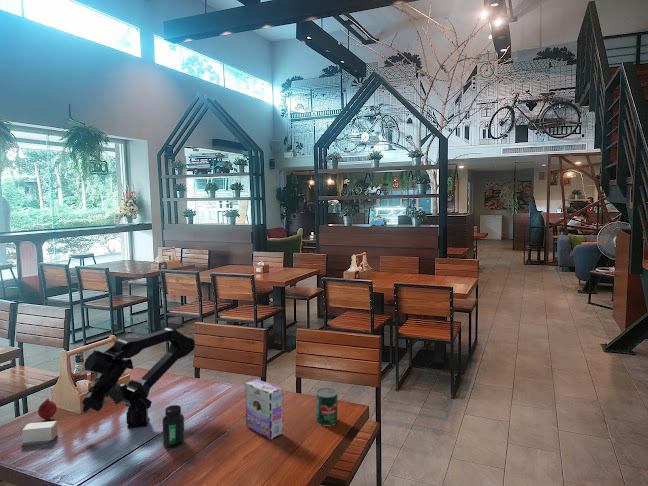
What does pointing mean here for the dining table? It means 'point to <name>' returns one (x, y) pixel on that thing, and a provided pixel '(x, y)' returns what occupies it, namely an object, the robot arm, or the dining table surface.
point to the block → (40, 431)
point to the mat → (35, 443)
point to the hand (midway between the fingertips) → (84, 411)
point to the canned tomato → (326, 406)
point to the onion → (47, 409)
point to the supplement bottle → (173, 427)
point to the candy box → (264, 408)
